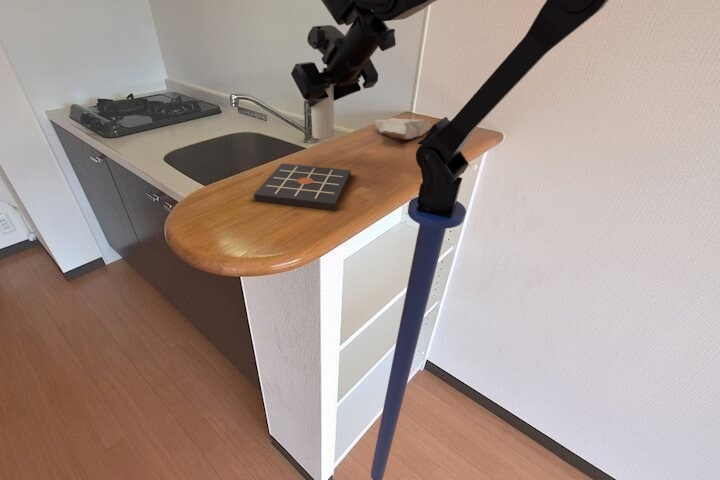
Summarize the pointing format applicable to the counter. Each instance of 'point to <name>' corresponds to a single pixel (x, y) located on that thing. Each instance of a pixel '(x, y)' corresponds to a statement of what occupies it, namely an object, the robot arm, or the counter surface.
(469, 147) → the counter surface
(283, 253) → the counter surface
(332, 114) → the white rounded cylinder
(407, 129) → the rock
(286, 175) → the game board
